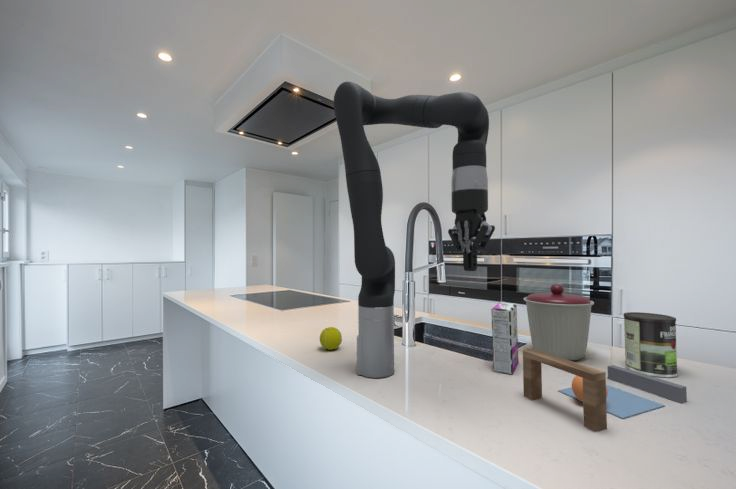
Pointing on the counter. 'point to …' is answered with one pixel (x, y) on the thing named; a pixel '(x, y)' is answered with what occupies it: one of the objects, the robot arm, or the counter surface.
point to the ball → (579, 387)
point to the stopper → (648, 383)
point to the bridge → (591, 377)
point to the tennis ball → (330, 338)
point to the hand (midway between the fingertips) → (470, 270)
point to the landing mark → (622, 402)
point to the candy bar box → (505, 337)
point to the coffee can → (650, 344)
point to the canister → (559, 322)
